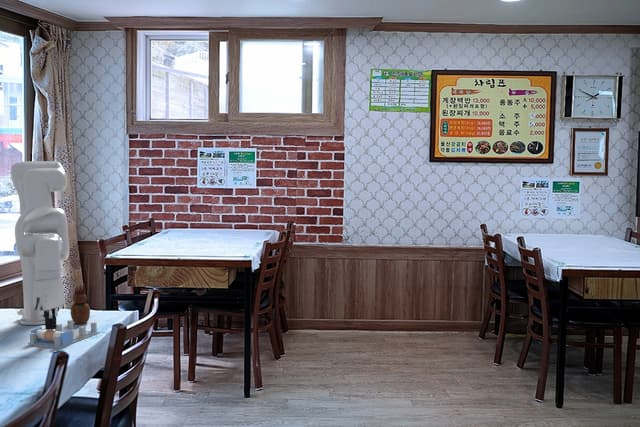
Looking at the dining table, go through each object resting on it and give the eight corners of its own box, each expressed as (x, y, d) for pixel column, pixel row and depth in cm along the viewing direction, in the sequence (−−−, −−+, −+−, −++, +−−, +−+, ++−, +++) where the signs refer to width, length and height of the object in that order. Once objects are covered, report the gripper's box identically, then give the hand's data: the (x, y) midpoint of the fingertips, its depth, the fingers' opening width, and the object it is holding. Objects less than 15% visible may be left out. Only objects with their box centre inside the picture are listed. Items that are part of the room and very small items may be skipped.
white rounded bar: (35, 341, 216) (34, 330, 216) (43, 337, 219) (42, 327, 219) (61, 344, 212) (61, 333, 212) (69, 340, 216) (68, 330, 215)
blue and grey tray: (28, 344, 215) (27, 331, 214) (68, 330, 233) (67, 317, 232) (60, 348, 210) (59, 334, 210) (98, 333, 228) (98, 320, 228)
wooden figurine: (93, 321, 244) (91, 282, 243) (83, 325, 238) (81, 285, 237) (78, 320, 246) (77, 281, 245) (68, 324, 241) (66, 284, 239)
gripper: (55, 269, 222) (57, 322, 224) (22, 278, 208) (24, 334, 210) (73, 271, 220) (75, 324, 222) (41, 279, 206) (43, 336, 208)
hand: (51, 328), depth 216 cm, fingers closed
